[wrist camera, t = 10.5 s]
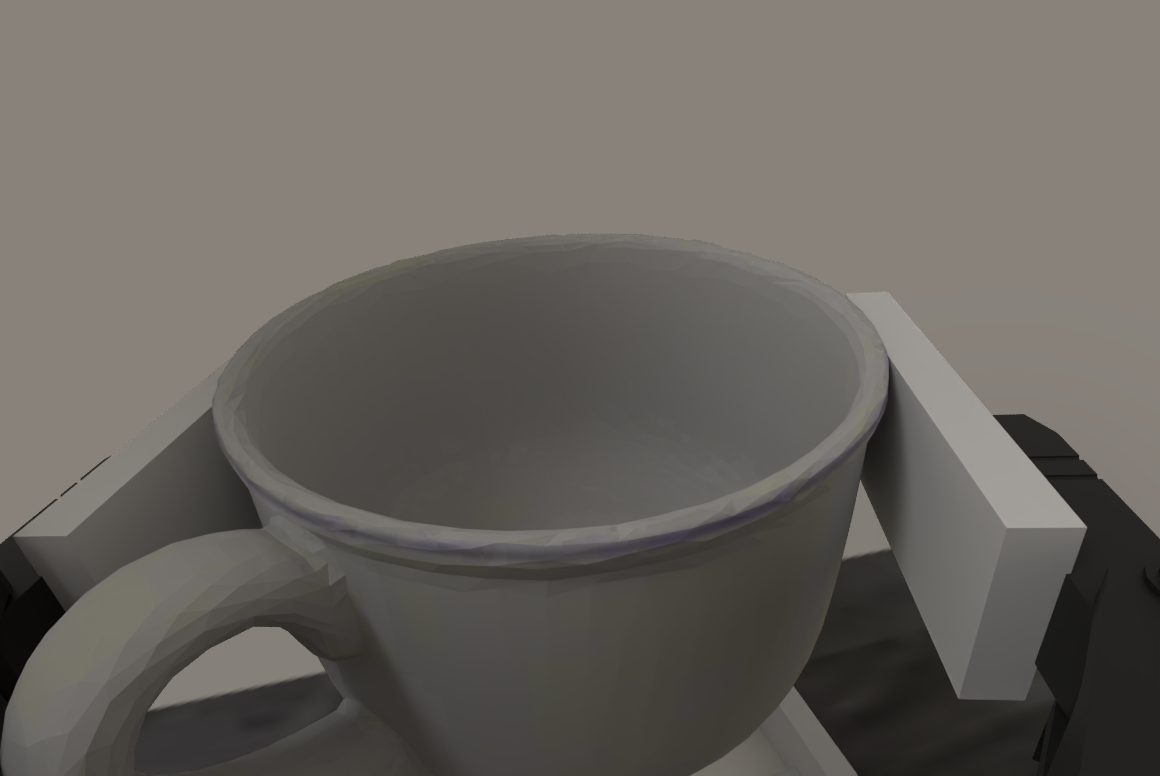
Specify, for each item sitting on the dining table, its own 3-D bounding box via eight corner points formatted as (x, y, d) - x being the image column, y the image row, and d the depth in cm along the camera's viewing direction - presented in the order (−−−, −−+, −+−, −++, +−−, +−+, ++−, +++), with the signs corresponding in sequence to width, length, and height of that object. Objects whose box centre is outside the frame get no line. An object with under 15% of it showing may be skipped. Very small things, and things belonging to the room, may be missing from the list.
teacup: (594, 446, 22) (564, 202, 18) (938, 616, 14) (1014, 267, 11) (124, 743, 14) (-106, 422, 10) (361, 1441, 7) (-147, 1246, 3)
